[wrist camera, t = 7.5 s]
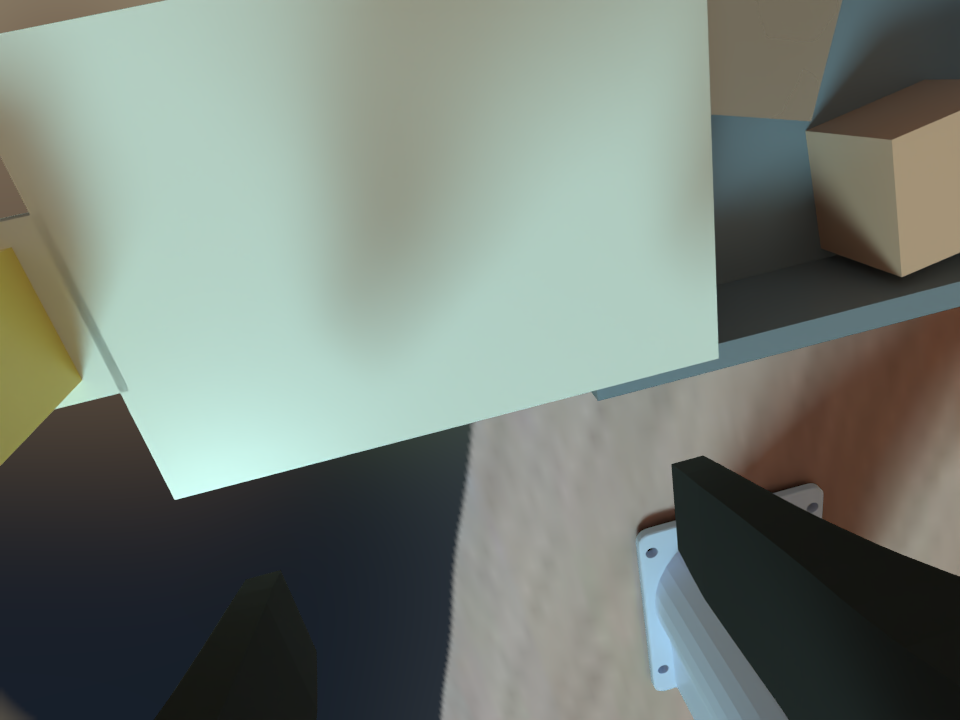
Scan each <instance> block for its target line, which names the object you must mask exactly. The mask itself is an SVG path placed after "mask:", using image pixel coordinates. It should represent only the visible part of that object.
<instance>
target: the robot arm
mask: <svg viewBox="0 0 960 720" xmlns="http://www.w3.org/2000/svg"><path fill="white" fill-rule="evenodd" d="M672 478H673V491H674V504H675V518H676V520H675V521H671V522H668V523H664V524H661V525H657V526H653V527H650V528H646V529H644V530H642V531H641V532H640V533H639V534H638V535H637V537H636V548H637V557H638V566H639V575H640V583H641V592H642V601H643V610H644V619H645V628H646V637H647V646H648V655H649V663H650V672H651V681H652V683H653V685H654V687H655V689H657V690H659V691H665V690H669V689H672V688H675V687H678V689H679V691H680V693H681V695H682V697H683V699H684V701H685V703H686V705H687V707H688V709H689V710H690V712H691V714H692V716H693V718H694V720H960V576H957V575H954V574H951V573H948V572H946V571H943V570H940V569H938V568H935V567H933V566H930V565H928V564H925V563H922V562H920V561H917V560H915V559H912V558H909V557H907V556H904V555H902V554H899V553H897V552H894V551H892V550H890V549H887V548H885V547H882V546H880V545H878V544H875V543H873V542H871V541H869V540H867V539H864V538H862V537H860V536H858V535H856V534H853V533H851V532H849V531H847V530H845V529H842V528H840V527H838V526H836V525H834V524H832V523H830V522H828V521H826V520H824V519H822V513H823V491H822V489H821V488H819V487H818V486H817V485H816V484H814V483H808V484H804V485H801V486H797V487H794V488H790V489H786V490H783V491H779V492H776V493H771V492H769V491H767V490H765V489H764V488H762V487H760V486H758V485H756V484H754V483H753V482H751V481H749V480H747V479H745V478H744V477H742V476H740V475H738V474H736V473H734V472H733V471H731V470H729V469H727V468H725V467H724V466H722V465H720V464H718V463H716V462H714V461H712V460H711V459H709V458H707V457H705V456H700V457H696V458H693V459H689V460H685V461H682V462H678V463H674V464H672ZM809 504H810V505H809ZM650 548H653V549H652V550H650V551H647V550H648V549H650ZM316 654H317V653H316V649H315V647H314V645H313V642H312V640H311V638H310V635H309V633H308V631H307V629H306V626H305V624H304V622H303V620H302V617H301V615H300V613H299V611H298V608H297V606H296V604H295V602H294V600H293V597H292V595H291V593H290V590H289V588H288V586H287V584H286V581H285V579H284V577H283V575H282V573H281V570H280V571H276V572H272V573H269V574H265V575H261V576H258V577H254V578H250V579H246V580H245V582H244V583H243V585H242V587H241V588H240V590H239V591H238V593H237V594H236V596H235V597H234V599H233V600H232V602H231V604H230V605H229V607H228V608H227V610H226V611H225V613H224V615H223V616H222V618H221V619H220V621H219V623H218V624H217V626H216V627H215V629H214V630H213V632H212V634H211V635H210V637H209V638H208V640H207V641H206V643H205V645H204V646H203V648H202V649H201V651H200V652H199V654H198V656H197V657H196V659H195V660H194V662H193V663H192V665H191V666H190V668H189V669H188V671H187V672H186V674H185V675H184V677H183V679H182V680H181V681H180V683H179V684H178V686H177V688H176V689H175V691H174V692H173V693H172V695H171V696H170V698H169V699H168V701H167V702H166V704H165V705H164V706H163V708H162V709H161V711H160V712H159V713H158V715H157V716H156V717H155V719H154V720H316V718H317V657H316V656H317V655H316Z"/></svg>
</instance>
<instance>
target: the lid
mask: <svg viewBox="0 0 960 720" xmlns="http://www.w3.org/2000/svg"><path fill="white" fill-rule="evenodd" d="M0 157H1V159H2V161H3V163H4V165H5V167H6V169H7V171H8V173H9V175H10V177H11V178H12V181H13V183H14V184H15V187H16V188H17V190H18V192H19V194H20V196H21V198H22V200H23V202H24V204H25V206H26V208H27V210H28V213H24V214H20V215H15V216H11V217H6V218H2V219H0V466H1V465H2V464H3V462H4V461H5V460H6V459H7V458H8V457H9V456H10V455H11V454H12V453H13V452H14V451H15V450H16V449H17V448H18V447H19V446H20V445H21V444H22V443H23V442H24V441H25V439H26V438H27V437H28V436H29V435H30V434H31V433H32V432H33V431H34V430H35V429H36V428H37V427H38V426H39V425H40V424H41V423H42V422H43V420H45V419H46V417H48V415H49V414H50V413H51V412H52V411H53V410H54V409H57V408H61V407H65V406H69V405H73V404H77V403H81V402H86V401H90V400H94V399H97V398H102V397H106V396H110V395H114V394H118V393H121V395H122V397H123V399H124V401H125V403H126V405H127V407H128V409H129V411H130V413H131V415H132V417H133V419H134V421H135V423H136V425H137V426H138V429H139V431H140V433H141V435H142V436H143V438H144V440H145V442H146V444H147V446H148V448H149V450H150V452H151V454H152V456H153V458H154V460H155V462H156V464H157V466H158V468H159V470H160V472H161V474H162V476H163V478H164V480H165V482H166V484H167V486H168V488H169V489H170V491H171V494H172V495H173V497H174V499H175V500H176V499H180V498H184V497H187V496H191V495H195V494H199V493H203V492H207V491H211V490H214V489H218V488H222V487H226V486H230V485H233V484H238V483H241V482H245V481H248V480H253V479H257V478H261V477H264V476H268V475H272V474H276V473H280V472H284V471H288V470H291V469H295V468H299V467H303V466H307V465H311V464H314V463H318V462H322V461H326V460H330V459H333V458H337V457H341V456H345V455H349V454H353V453H357V452H361V451H364V450H368V449H372V448H376V447H380V446H384V445H387V444H391V443H395V442H399V441H403V440H407V439H411V438H414V437H418V436H422V435H426V434H430V433H434V432H438V431H441V430H445V429H449V428H453V427H457V426H461V425H465V424H468V423H472V422H476V421H480V420H484V419H488V418H491V417H495V416H499V415H503V414H507V413H511V412H515V411H518V410H522V409H526V408H530V407H534V406H538V405H541V404H545V403H549V402H553V401H557V400H561V399H565V398H568V397H572V396H576V395H580V394H584V393H588V392H591V391H595V390H599V389H603V388H607V387H611V386H615V385H618V384H622V383H626V382H630V381H634V380H638V379H642V378H645V377H649V376H653V375H657V374H661V373H665V372H668V371H672V370H676V369H680V368H684V367H688V366H692V365H695V364H699V363H703V362H707V361H711V360H715V359H718V358H719V352H718V321H717V290H716V259H715V229H714V198H713V167H712V137H711V106H710V75H709V44H708V14H707V0H165V1H160V2H155V3H150V4H145V5H140V6H135V7H130V8H125V9H120V10H115V11H111V12H105V13H100V14H95V15H91V16H85V17H81V18H76V19H71V20H66V21H61V22H56V23H51V24H46V25H41V26H36V27H31V28H26V29H22V30H16V31H12V32H7V33H2V34H0Z"/></svg>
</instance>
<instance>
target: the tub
mask: <svg viewBox="0 0 960 720" xmlns="http://www.w3.org/2000/svg"><path fill="white" fill-rule="evenodd" d="M940 79H960V0H842V4H841V8H840V11H839V15H838V19H837V23H836V27H835V31H834V35H833V39H832V43H831V47H830V51H829V54H828V58H827V62H826V66H825V70H824V74H823V78H822V82H821V86H820V90H819V93H818V97H817V101H816V105H815V109H814V113H813V117H812V121H798V120H784V119H769V118H755V117H740V116H726V115H711V137H712V167H713V198H714V229H715V259H716V290H717V321H718V352H719V358H718V359H715V360H711V361H707V362H703V363H699V364H695V365H692V366H688V367H684V368H680V369H676V370H672V371H668V372H665V373H661V374H657V375H653V376H649V377H645V378H642V379H638V380H634V381H630V382H626V383H622V384H618V385H615V386H611V387H607V388H603V389H599V390H595V391H591V392H592V393H593V395H594V396H595V397H596V399H597V400H598V401H600V400H604V399H608V398H611V397H615V396H619V395H623V394H627V393H631V392H634V391H638V390H642V389H646V388H650V387H654V386H657V385H661V384H665V383H669V382H673V381H677V380H680V379H684V378H688V377H692V376H696V375H700V374H703V373H707V372H711V371H715V370H719V369H722V368H726V367H730V366H734V365H738V364H742V363H745V362H749V361H753V360H757V359H761V358H765V357H768V356H772V355H776V354H780V353H784V352H788V351H791V350H795V349H799V348H803V347H807V346H811V345H814V344H818V343H822V342H826V341H830V340H833V339H837V338H841V337H845V336H849V335H853V334H856V333H860V332H864V331H868V330H872V329H876V328H879V327H883V326H887V325H891V324H895V323H899V322H902V321H906V320H910V319H914V318H918V317H922V316H925V315H929V314H933V313H937V312H941V311H944V310H948V309H952V308H956V307H960V253H957V254H955V255H953V256H950V257H948V258H946V259H943V260H941V261H939V262H936V263H934V264H932V265H929V266H927V267H925V268H922V269H920V270H918V271H915V272H913V273H911V274H908V275H906V276H904V277H900V276H897V275H894V274H891V273H888V272H886V271H883V270H880V269H877V268H874V267H872V266H869V265H866V264H863V263H860V262H858V261H855V260H852V259H849V258H846V257H844V256H841V255H838V254H835V253H832V252H830V251H827V250H824V249H821V245H820V238H819V230H818V223H817V215H816V208H815V200H814V193H813V185H812V178H811V170H810V163H809V155H808V148H807V140H806V133H805V131H806V130H809V129H811V128H813V127H816V126H818V125H820V124H823V123H825V122H827V121H830V120H832V119H834V118H837V117H839V116H841V115H844V114H846V113H848V112H851V111H853V110H855V109H858V108H860V107H862V106H864V105H867V104H869V103H871V102H874V101H876V100H878V99H881V98H883V97H885V96H888V95H890V94H892V93H895V92H897V91H899V90H902V89H904V88H906V87H909V86H911V85H913V84H916V83H918V82H920V81H923V80H940Z"/></svg>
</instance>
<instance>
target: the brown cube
mask: <svg viewBox="0 0 960 720" xmlns="http://www.w3.org/2000/svg"><path fill="white" fill-rule="evenodd" d="M841 4H842V0H707V14H708V44H709V75H710V106H711V115H726V116H740V117H755V118H769V119H784V120H798V121H812V117H813V113H814V109H815V105H816V101H817V97H818V93H819V90H820V86H821V82H822V78H823V74H824V70H825V66H826V62H827V58H828V54H829V51H830V47H831V43H832V39H833V35H834V31H835V27H836V23H837V19H838V15H839V11H840V8H841Z"/></svg>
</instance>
